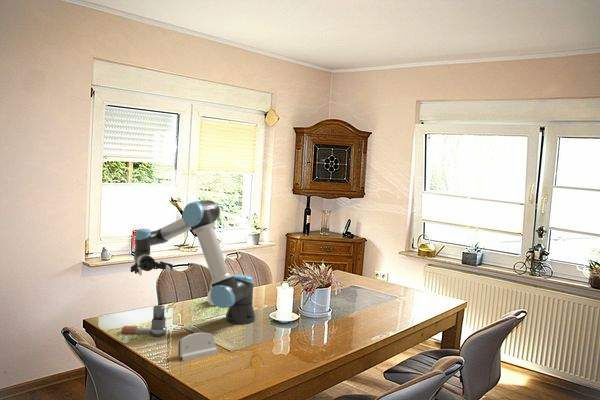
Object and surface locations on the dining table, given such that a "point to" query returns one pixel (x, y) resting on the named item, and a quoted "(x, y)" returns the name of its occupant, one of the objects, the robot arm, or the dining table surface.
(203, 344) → the hinge
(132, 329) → the ratchet
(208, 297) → the rabbit
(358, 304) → the dining table surface
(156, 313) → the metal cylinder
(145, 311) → the dining table surface
